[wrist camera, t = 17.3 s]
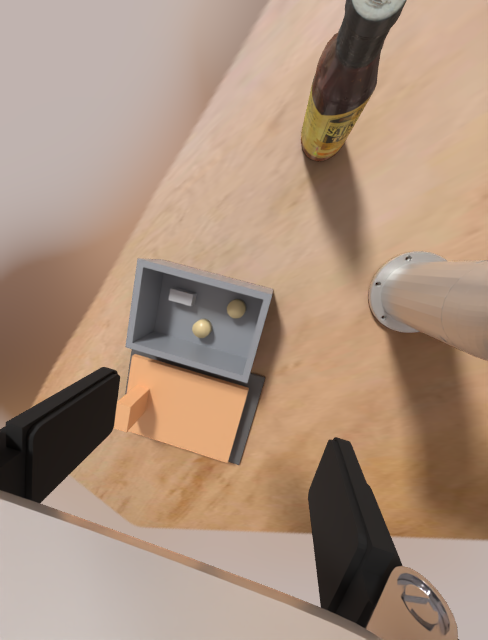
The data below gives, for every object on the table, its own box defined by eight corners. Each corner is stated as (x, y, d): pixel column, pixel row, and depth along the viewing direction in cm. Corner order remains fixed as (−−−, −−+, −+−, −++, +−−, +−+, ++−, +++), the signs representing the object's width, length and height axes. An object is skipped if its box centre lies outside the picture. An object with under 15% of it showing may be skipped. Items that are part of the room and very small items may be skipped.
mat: (265, 377, 45) (265, 378, 45) (239, 463, 50) (239, 465, 49) (134, 338, 47) (133, 339, 46) (122, 425, 52) (120, 426, 51)
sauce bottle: (316, 173, 37) (361, 71, 18) (291, 138, 36) (307, -5, 17) (354, 139, 35) (448, -13, 16) (328, 102, 35) (392, -100, 15)
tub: (273, 289, 41) (272, 294, 34) (252, 362, 45) (247, 383, 37) (162, 259, 43) (137, 258, 35) (150, 333, 46) (125, 347, 38)
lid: (249, 383, 45) (243, 410, 37) (229, 453, 49) (220, 491, 41) (139, 351, 47) (110, 369, 39) (128, 421, 51) (100, 451, 42)
